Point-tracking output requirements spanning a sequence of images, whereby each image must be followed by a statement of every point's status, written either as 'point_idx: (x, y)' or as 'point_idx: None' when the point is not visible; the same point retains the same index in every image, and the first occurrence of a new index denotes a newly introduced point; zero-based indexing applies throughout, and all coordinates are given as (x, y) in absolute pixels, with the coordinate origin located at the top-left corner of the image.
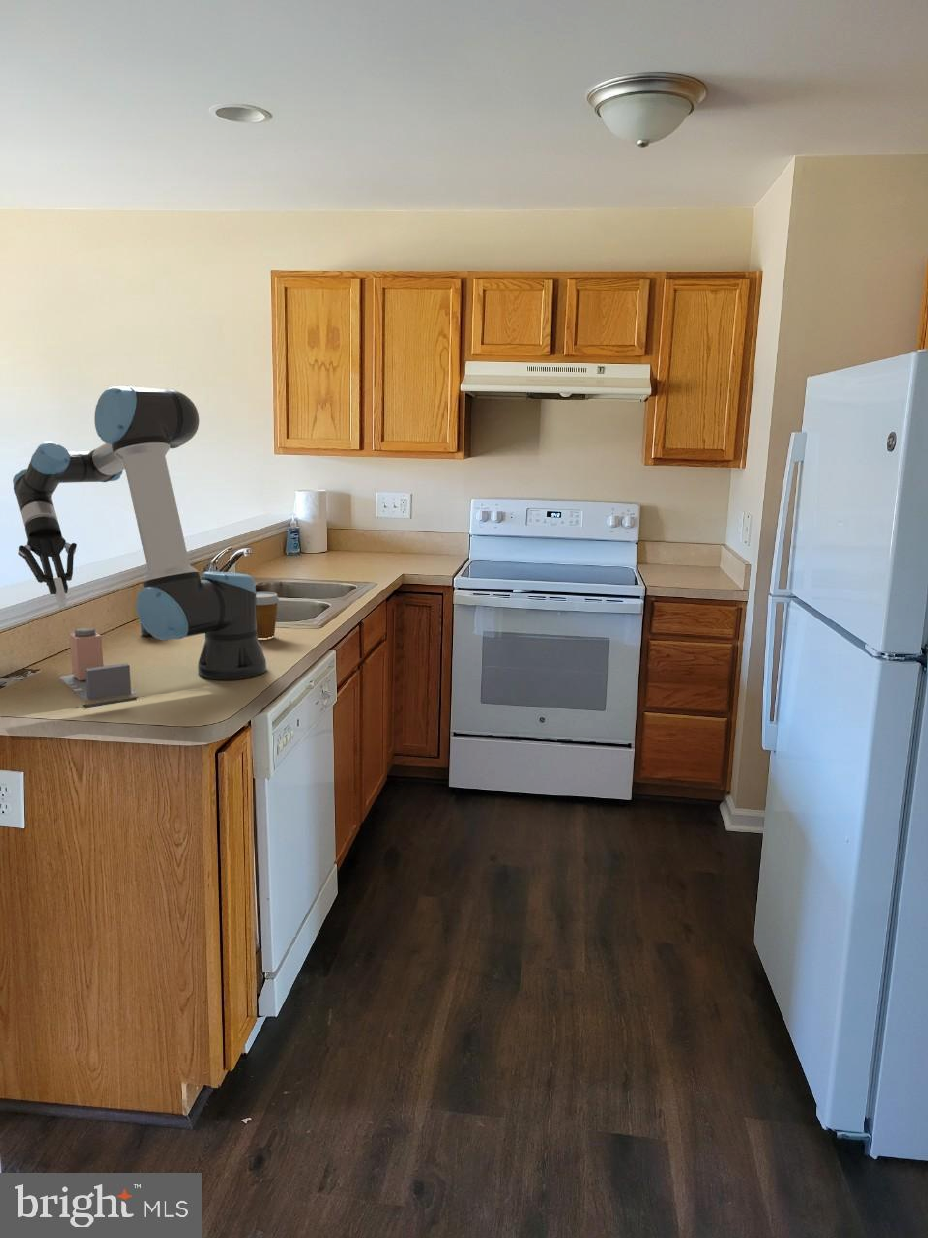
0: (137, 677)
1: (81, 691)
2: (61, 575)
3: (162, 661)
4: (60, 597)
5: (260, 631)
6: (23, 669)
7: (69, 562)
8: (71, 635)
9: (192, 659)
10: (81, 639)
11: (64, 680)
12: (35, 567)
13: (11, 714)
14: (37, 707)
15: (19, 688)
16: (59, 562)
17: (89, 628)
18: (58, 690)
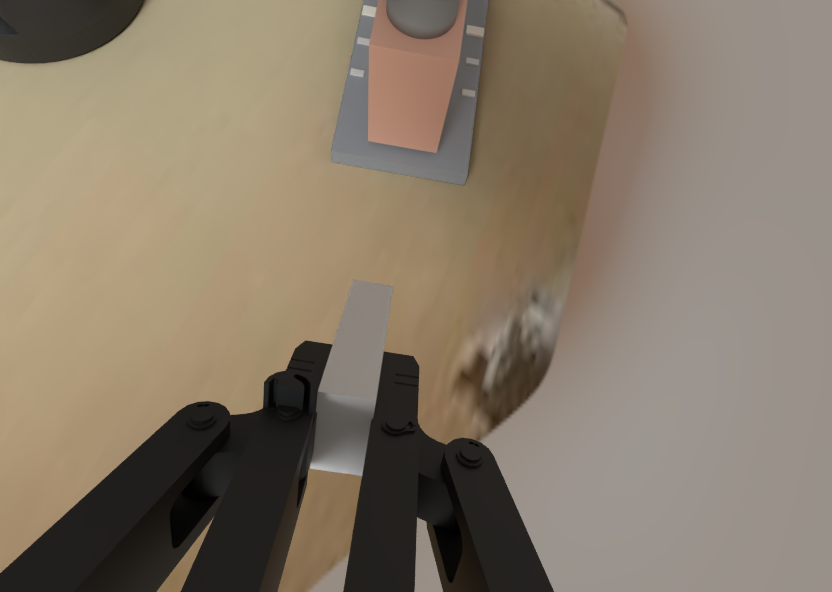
0: (273, 104)
1: (472, 19)
2: (311, 379)
3: (104, 214)
4: (384, 293)
5: None
6: (497, 421)
7: (104, 531)
8: (461, 38)
9: (17, 172)
10: None
11: (469, 131)
12: (521, 545)
13: (624, 34)
14: (568, 41)
15: (563, 212)
16: (226, 557)
17: (397, 9)
18: (488, 129)
